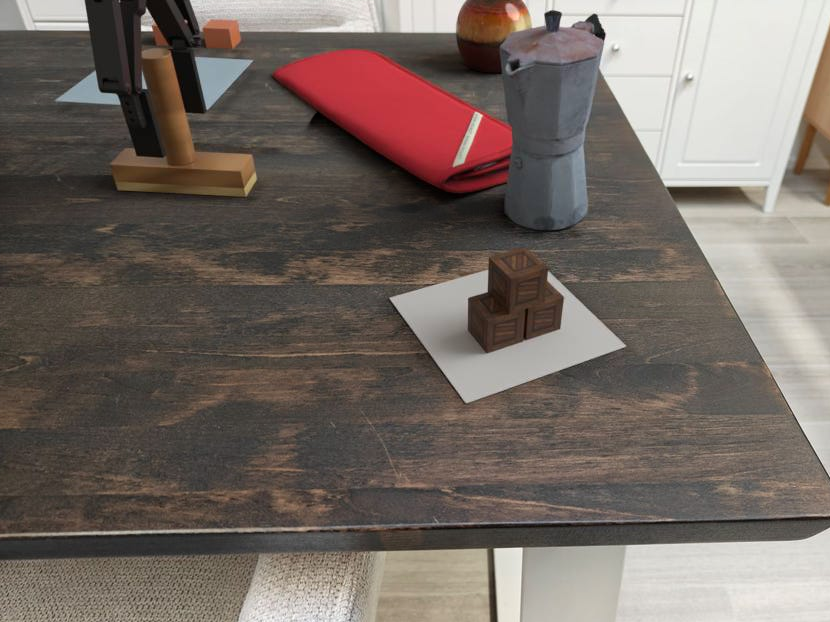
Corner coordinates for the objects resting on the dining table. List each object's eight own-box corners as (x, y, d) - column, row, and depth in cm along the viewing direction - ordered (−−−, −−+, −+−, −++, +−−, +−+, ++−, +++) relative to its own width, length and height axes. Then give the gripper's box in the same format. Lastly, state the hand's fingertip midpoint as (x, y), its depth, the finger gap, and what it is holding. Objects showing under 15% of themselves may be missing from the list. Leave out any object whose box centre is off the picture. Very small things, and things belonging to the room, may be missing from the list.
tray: (57, 109, 95) (53, 100, 94) (121, 60, 109) (119, 52, 108) (209, 119, 94) (207, 109, 93) (255, 68, 108) (253, 59, 107)
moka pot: (466, 224, 76) (467, 17, 63) (544, 168, 86) (559, -21, 72) (546, 254, 72) (566, 40, 59) (618, 192, 82) (649, -3, 68)
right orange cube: (208, 55, 111) (202, 27, 108) (217, 46, 114) (211, 19, 111) (234, 56, 111) (229, 28, 108) (242, 47, 114) (237, 20, 111)
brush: (117, 190, 80) (73, 57, 71) (133, 173, 83) (92, 43, 74) (246, 197, 79) (218, 63, 70) (257, 179, 82) (232, 49, 73)
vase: (519, 81, 106) (526, -39, 96) (445, 72, 108) (444, -47, 98) (537, 56, 114) (545, -58, 104) (468, 47, 116) (469, -64, 106)
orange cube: (158, 53, 111) (151, 25, 109) (168, 44, 114) (162, 17, 112) (184, 54, 111) (178, 26, 108) (194, 45, 114) (188, 18, 112)
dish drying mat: (371, 63, 110) (369, 37, 108) (552, 169, 85) (554, 138, 83) (272, 85, 103) (268, 57, 100) (438, 208, 78) (437, 176, 76)
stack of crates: (533, 257, 72) (538, 192, 67) (626, 346, 62) (640, 278, 57) (388, 298, 66) (384, 231, 62) (466, 403, 56) (467, 333, 52)
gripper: (83, -93, 54) (163, 186, 68) (201, -139, 71) (245, 92, 85) (-16, -97, 54) (84, 181, 69) (125, -142, 71) (181, 89, 86)
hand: (173, 132), depth 77 cm, fingers open, 10 cm apart
